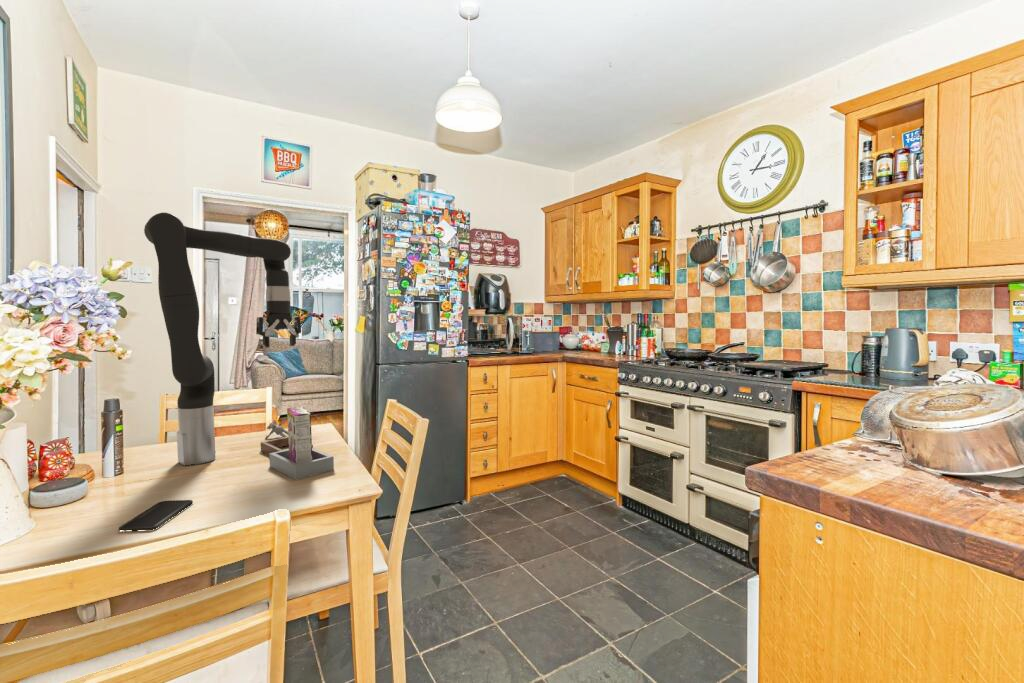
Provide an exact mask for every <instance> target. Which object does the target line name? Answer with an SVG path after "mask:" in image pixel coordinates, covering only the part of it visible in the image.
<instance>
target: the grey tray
mask: <svg viewBox="0 0 1024 683" xmlns="http://www.w3.org/2000/svg"><path fill="white" fill-rule="evenodd" d="M282 450H283V451H278V452H274V453H269V455H268V456H269V467H270V468H272V469H274V470H275V471H277V472H279V471H280V472H279V473H281V472H282V473H281V474H283V473H284V475H285V474H286V475H285V476H287V475H288V476H287V477H289V476H290V478H291V477H292V478H291V479H293V478H294V479H293V480H295V479H298V480H301V478H302V479H304V477H305V478H309V477H312V476H311V475H313V476H316V475H315V474H317V475H320V474H323V473H322V472H324V473H327V472H326V471H328V472H330V470H331V471H334V470H335V465H334V464H335V463H334V459H335V458H334V455H331V454H328V453H326V452H323V451H320V450H318V449H316V448H314V447H313V448H312V461H308V462H304V463H300V464H297V463H295V462H293V461H290V460H289V448H288V449H282ZM319 473H320V474H319ZM308 476H309V477H308Z"/></svg>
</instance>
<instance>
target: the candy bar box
mask: <svg viewBox="0 0 1024 683" xmlns="http://www.w3.org/2000/svg"><path fill="white" fill-rule="evenodd" d="M286 411H287V412H286V413H287V415H286V416H287V417H286V420H287V431H288V435H287V437H288V441H289V446H288V449H289V460H290V461H293V462H295V463H297V464H300V463H304V462H308V461H312V445H313V444H312V441H313V439H312V416H311V414H312V413H311V412H309V410H308V409H306V408H305V407H304V406H295V407H288V408H287V409H286Z"/></svg>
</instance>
